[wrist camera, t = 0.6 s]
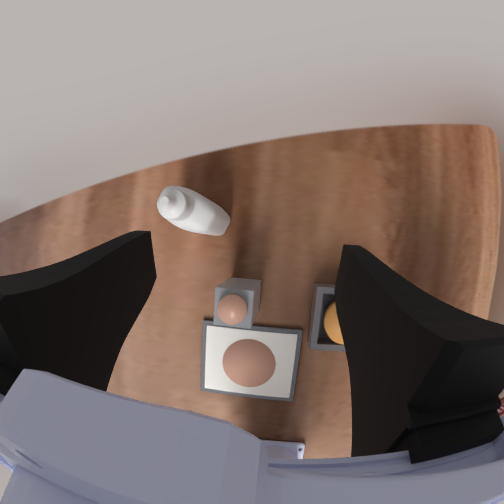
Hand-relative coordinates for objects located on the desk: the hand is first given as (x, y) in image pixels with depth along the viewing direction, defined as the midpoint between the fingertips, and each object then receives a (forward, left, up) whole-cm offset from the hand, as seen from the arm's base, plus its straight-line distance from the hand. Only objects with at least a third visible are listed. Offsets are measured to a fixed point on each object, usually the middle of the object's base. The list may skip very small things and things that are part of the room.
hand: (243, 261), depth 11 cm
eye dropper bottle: (+3, +7, -21) cm, 23 cm away
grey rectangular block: (-5, +2, -21) cm, 22 cm away
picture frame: (-13, +1, -21) cm, 25 cm away
